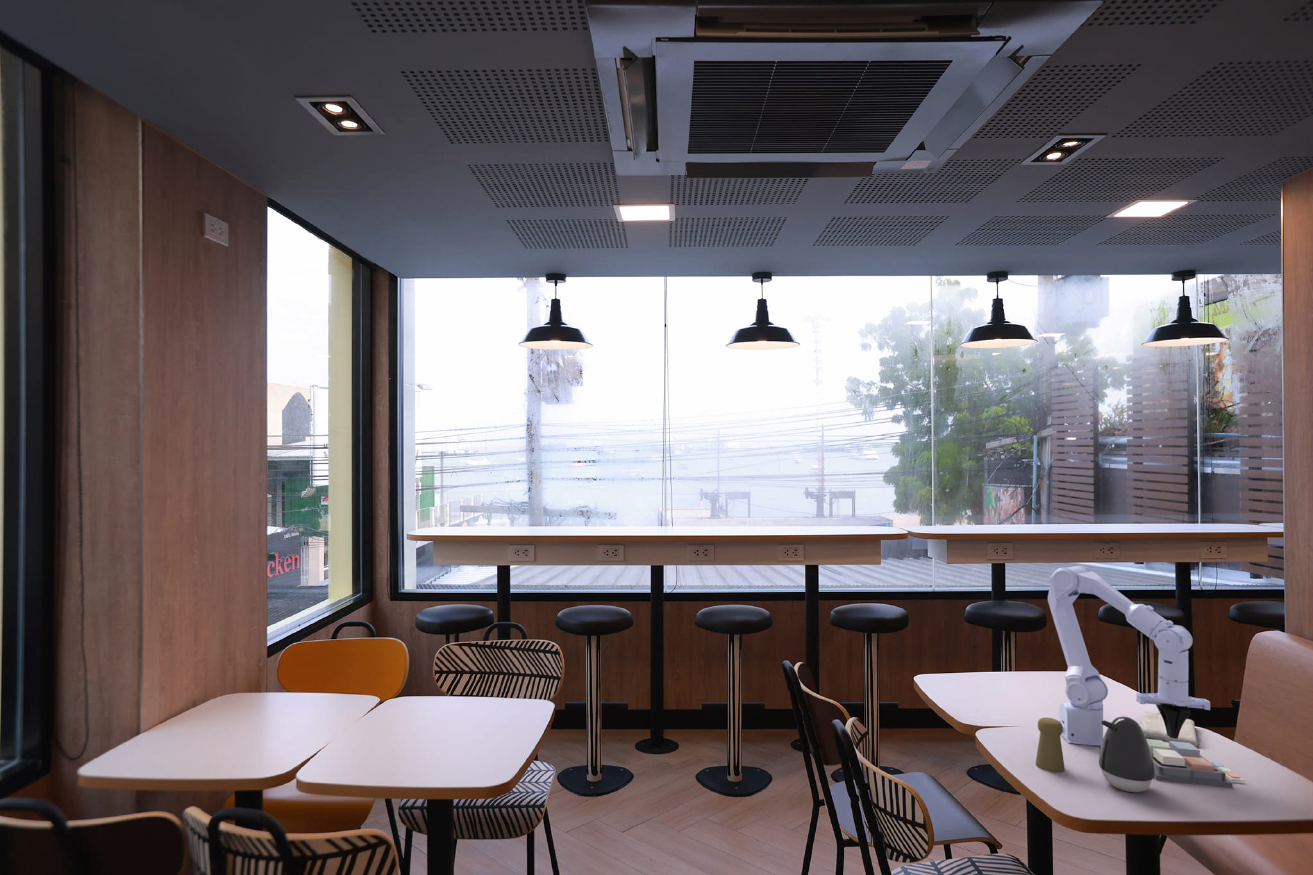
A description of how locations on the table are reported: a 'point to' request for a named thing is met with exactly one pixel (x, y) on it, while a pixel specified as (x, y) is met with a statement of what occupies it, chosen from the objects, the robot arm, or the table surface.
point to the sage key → (1157, 745)
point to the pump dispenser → (1126, 756)
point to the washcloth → (1157, 730)
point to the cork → (1050, 746)
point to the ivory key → (1169, 757)
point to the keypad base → (1190, 774)
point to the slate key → (1185, 749)
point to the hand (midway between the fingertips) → (1172, 736)
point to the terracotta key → (1199, 763)
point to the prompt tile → (1228, 773)
